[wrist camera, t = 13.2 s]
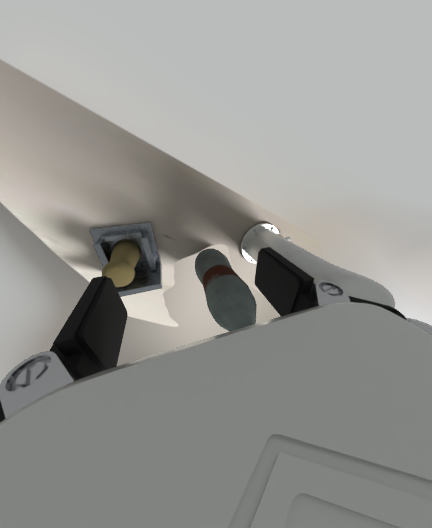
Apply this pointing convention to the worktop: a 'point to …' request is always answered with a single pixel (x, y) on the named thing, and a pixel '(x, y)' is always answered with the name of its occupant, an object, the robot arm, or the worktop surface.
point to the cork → (122, 262)
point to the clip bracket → (149, 262)
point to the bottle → (225, 291)
